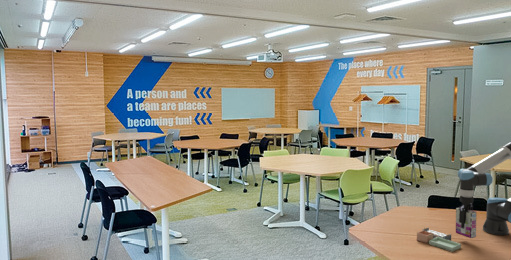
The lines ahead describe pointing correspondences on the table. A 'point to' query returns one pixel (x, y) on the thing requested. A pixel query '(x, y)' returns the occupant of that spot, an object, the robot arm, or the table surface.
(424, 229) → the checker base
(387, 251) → the table surface
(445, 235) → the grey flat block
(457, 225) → the candy bar box
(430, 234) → the terracotta square pot
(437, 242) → the pale green shallow tray
